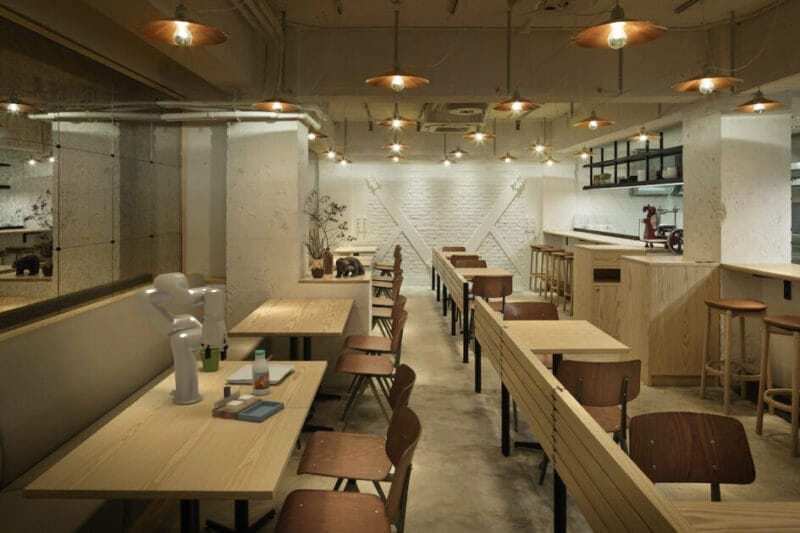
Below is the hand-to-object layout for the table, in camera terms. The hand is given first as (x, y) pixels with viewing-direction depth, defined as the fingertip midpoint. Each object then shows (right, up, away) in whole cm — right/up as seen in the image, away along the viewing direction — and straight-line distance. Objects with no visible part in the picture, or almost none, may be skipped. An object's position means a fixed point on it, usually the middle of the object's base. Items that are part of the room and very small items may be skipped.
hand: (215, 358), depth 253 cm
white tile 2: (+12, -18, +2) cm, 22 cm away
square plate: (+8, -18, +48) cm, 52 cm away
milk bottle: (+14, -20, +23) cm, 33 cm away
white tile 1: (+10, -19, -6) cm, 22 cm away
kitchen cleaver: (+2, -14, +79) cm, 80 cm away
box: (+21, -22, -5) cm, 31 cm away
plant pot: (-22, -16, +63) cm, 69 cm away
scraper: (+5, -18, 0) cm, 19 cm away
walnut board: (+10, -22, -1) cm, 24 cm away
